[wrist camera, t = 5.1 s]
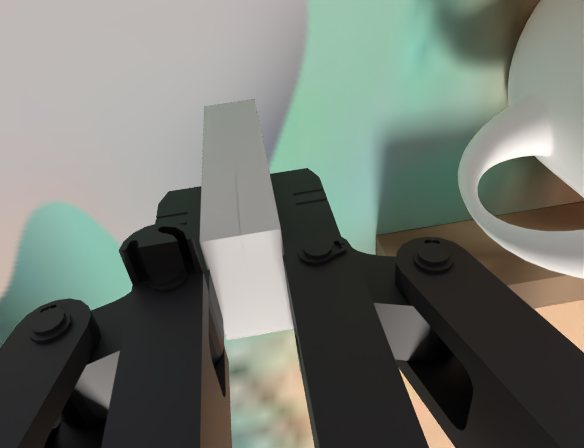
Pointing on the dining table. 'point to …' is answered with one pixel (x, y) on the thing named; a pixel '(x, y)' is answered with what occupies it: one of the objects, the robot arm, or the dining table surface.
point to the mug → (537, 131)
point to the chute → (508, 252)
